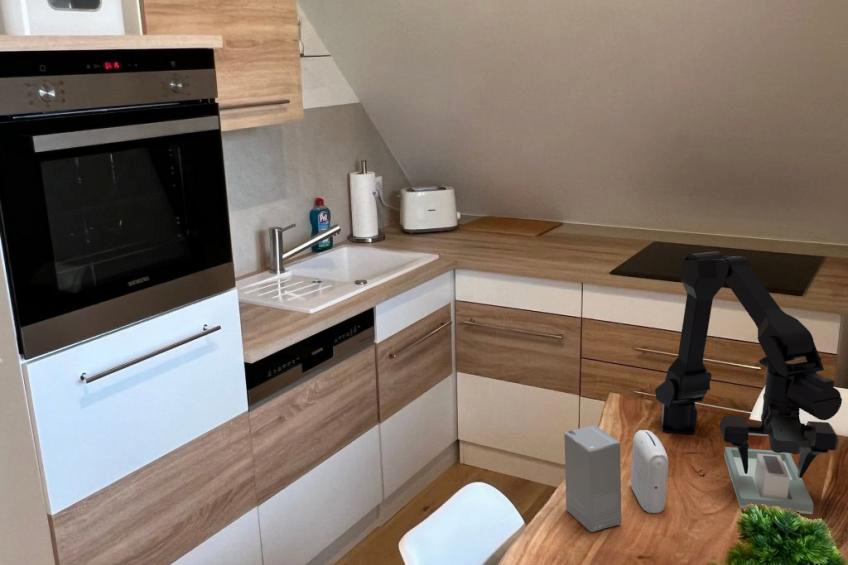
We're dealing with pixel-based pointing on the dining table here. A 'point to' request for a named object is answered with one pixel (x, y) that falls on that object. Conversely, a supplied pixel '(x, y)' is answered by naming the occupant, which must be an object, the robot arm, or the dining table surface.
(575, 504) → the skincare box
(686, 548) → the dining table surface
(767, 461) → the socket block
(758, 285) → the robot arm
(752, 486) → the keyhole tray
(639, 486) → the photo printer
